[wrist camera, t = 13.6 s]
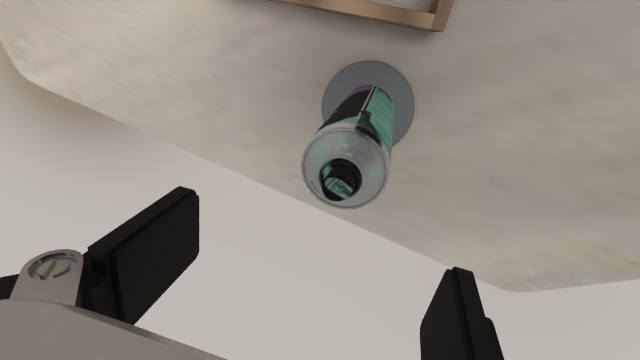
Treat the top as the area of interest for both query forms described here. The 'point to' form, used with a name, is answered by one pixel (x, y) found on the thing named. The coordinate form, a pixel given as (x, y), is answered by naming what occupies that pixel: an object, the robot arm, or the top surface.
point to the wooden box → (384, 12)
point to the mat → (378, 76)
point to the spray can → (352, 150)
